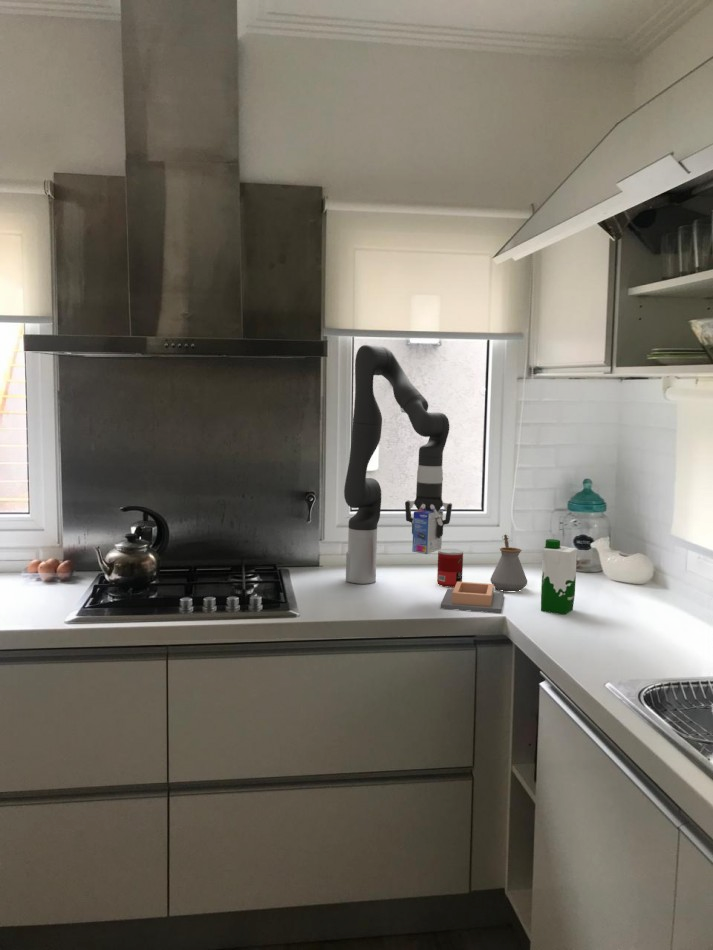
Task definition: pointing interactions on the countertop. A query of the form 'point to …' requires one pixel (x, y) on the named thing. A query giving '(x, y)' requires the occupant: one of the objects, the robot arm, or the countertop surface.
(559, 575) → the milk carton
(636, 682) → the countertop surface
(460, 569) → the canned food
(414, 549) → the ink cartridge box
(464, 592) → the dock
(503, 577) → the coffee pot
